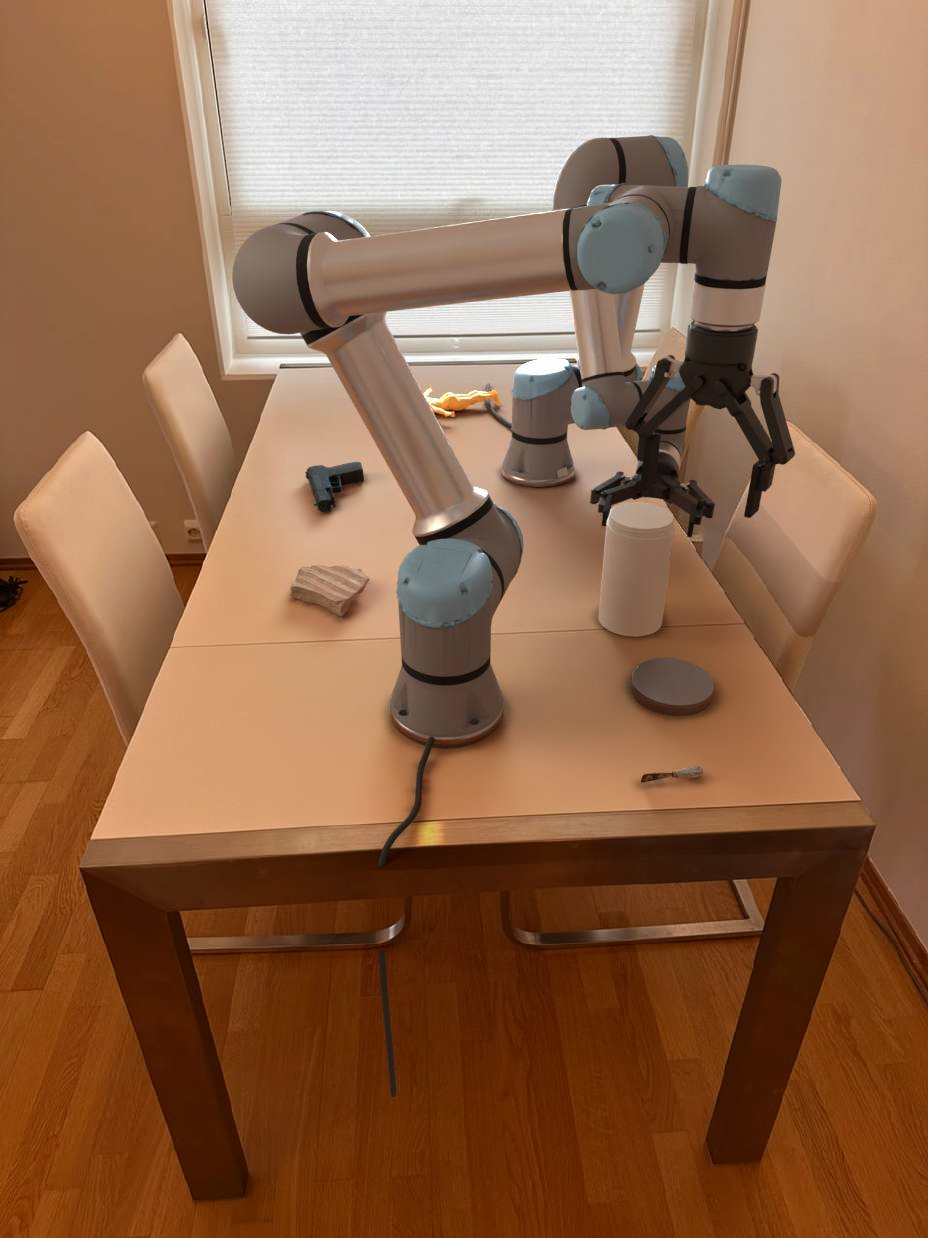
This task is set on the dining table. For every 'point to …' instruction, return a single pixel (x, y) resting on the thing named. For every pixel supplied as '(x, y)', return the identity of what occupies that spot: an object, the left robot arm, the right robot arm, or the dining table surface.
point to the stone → (329, 586)
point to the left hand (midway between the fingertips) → (697, 499)
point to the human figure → (458, 401)
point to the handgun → (332, 482)
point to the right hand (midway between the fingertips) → (647, 524)
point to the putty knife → (674, 774)
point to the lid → (672, 686)
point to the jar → (635, 568)
